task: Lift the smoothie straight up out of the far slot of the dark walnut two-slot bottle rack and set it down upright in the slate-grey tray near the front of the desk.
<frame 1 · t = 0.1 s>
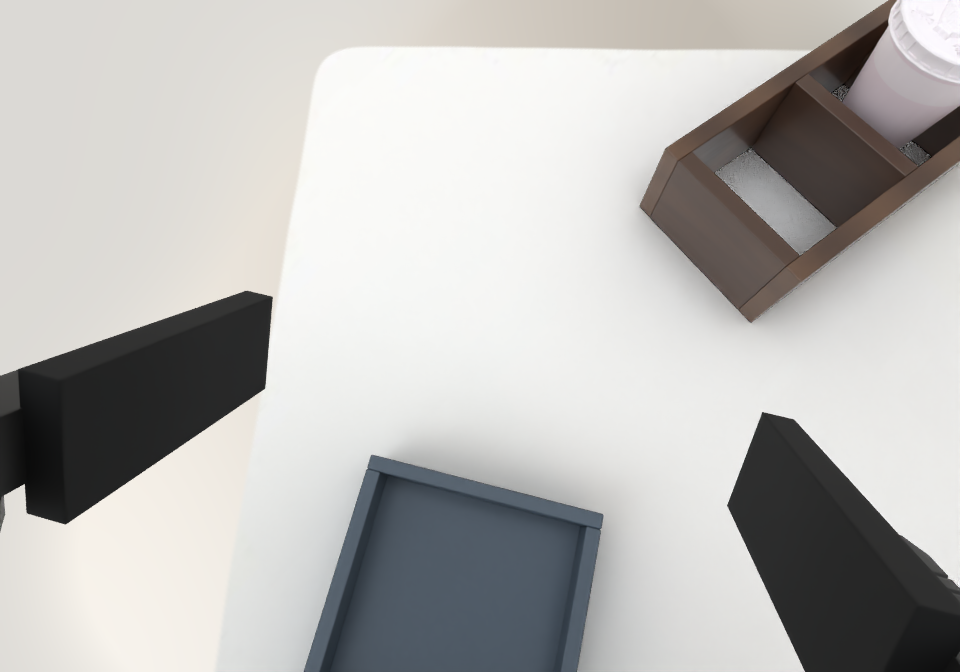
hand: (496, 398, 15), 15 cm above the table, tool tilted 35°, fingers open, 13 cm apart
smoothie: (846, 151, 35), resting in rack
tray: (457, 605, 27), on the table
rack: (800, 184, 34), on the table
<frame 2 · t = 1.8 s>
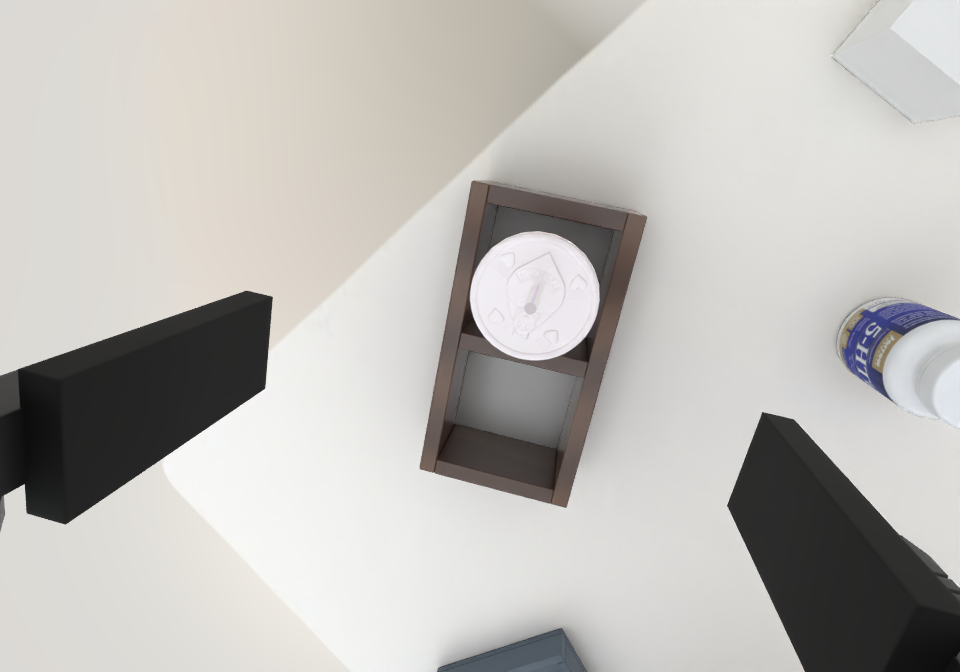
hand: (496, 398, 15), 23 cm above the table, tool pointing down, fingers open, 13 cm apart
pill bottle: (879, 338, 34), on the table
smoothie: (543, 269, 36), resting in rack
white cube: (915, 41, 30), on the table
rack: (529, 331, 38), on the table
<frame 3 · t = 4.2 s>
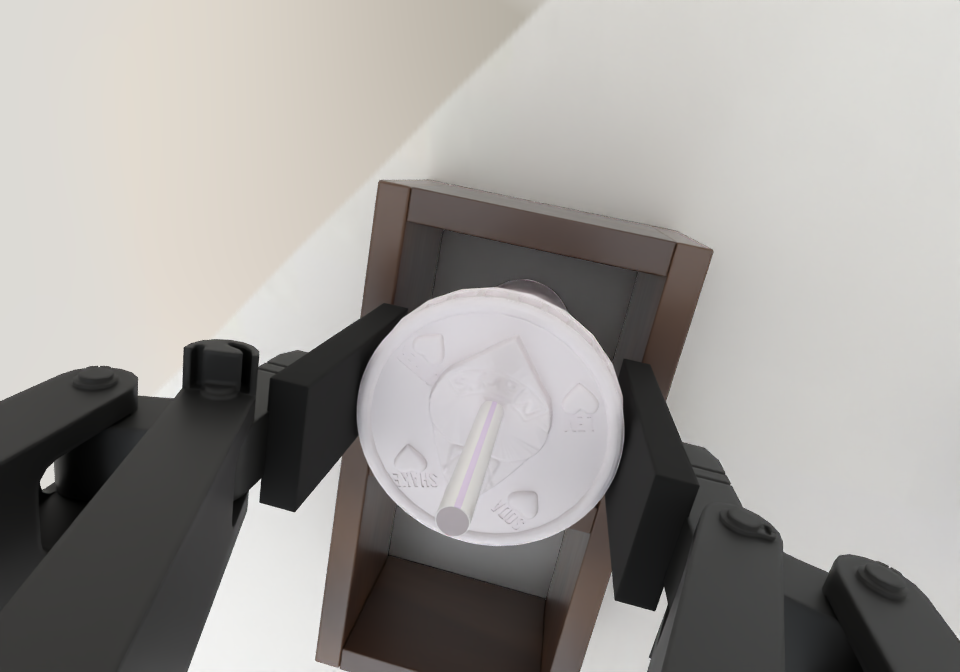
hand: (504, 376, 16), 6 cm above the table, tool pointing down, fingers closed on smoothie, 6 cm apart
smoothie: (522, 324, 22), resting in rack, touching gripper
rack: (500, 421, 23), on the table
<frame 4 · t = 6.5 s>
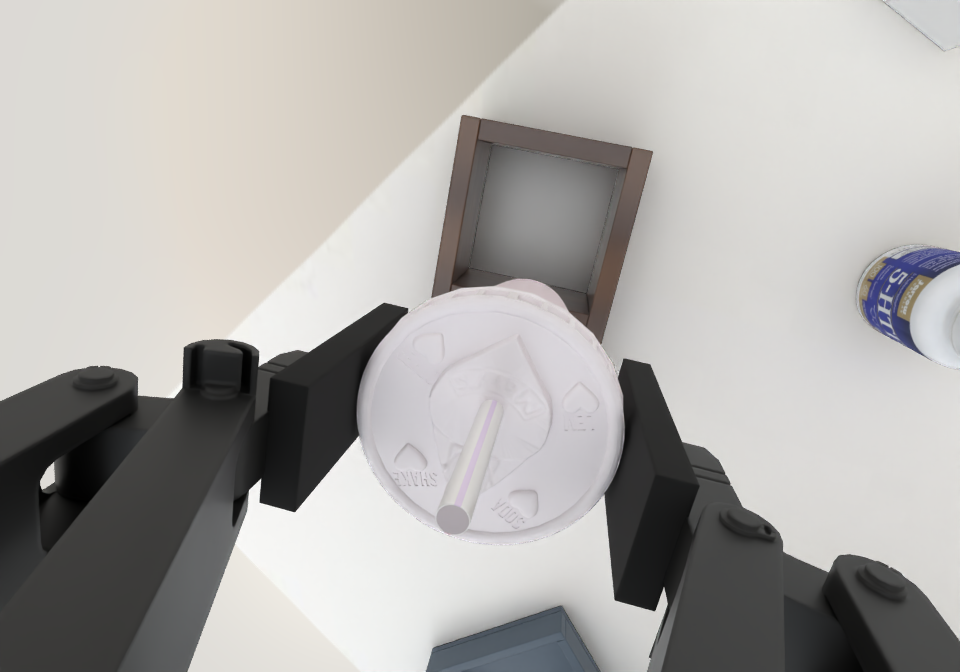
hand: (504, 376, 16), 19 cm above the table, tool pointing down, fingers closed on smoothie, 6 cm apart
pill bottle: (902, 289, 32), on the table
smoothie: (522, 323, 22), point 13 cm above the table, touching gripper
rack: (525, 288, 35), on the table
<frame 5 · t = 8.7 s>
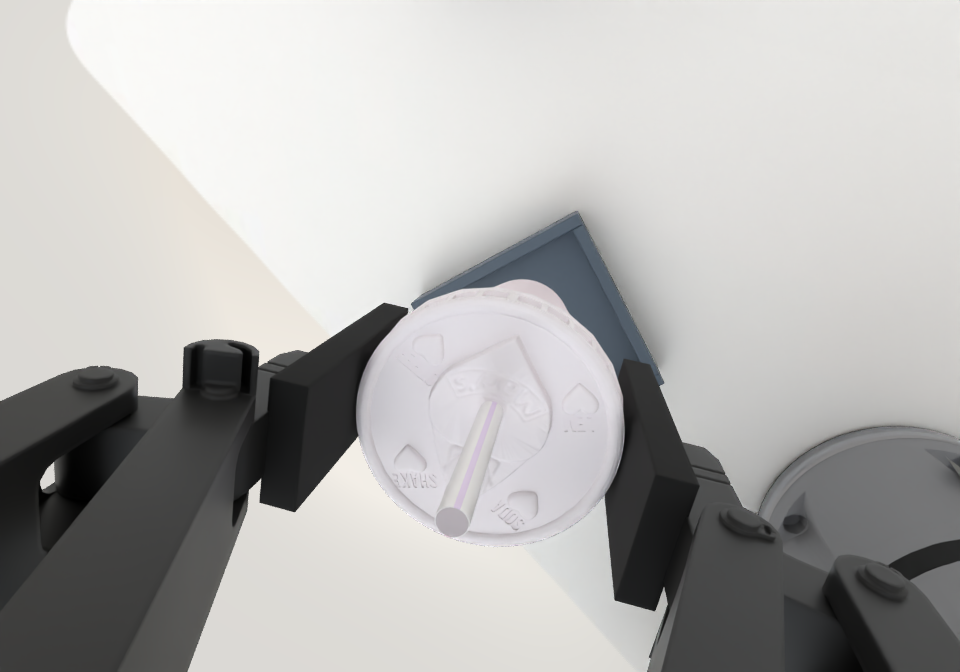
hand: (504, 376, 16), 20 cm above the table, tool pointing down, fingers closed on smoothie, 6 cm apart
smoothie: (522, 324, 22), point 14 cm above the table, touching gripper
tray: (537, 332, 36), on the table
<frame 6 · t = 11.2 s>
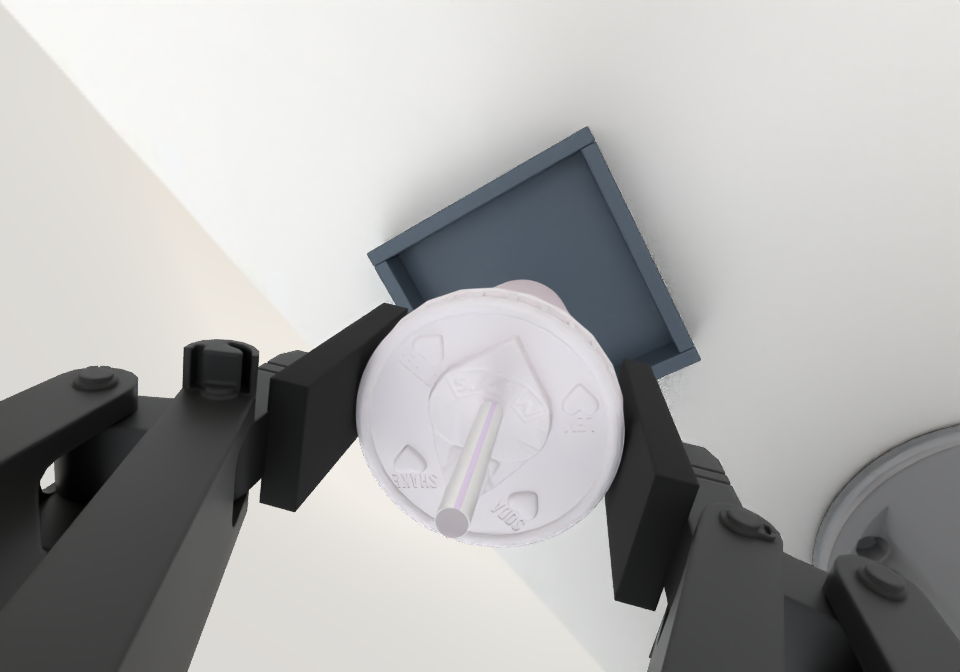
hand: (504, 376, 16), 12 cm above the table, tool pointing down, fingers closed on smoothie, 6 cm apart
smoothie: (522, 324, 22), point 6 cm above the table, touching gripper
tray: (533, 295, 28), on the table
when the fingers open (6 cm above the table, at t = 13.2 s): smoothie stays where it is, resting on tray.
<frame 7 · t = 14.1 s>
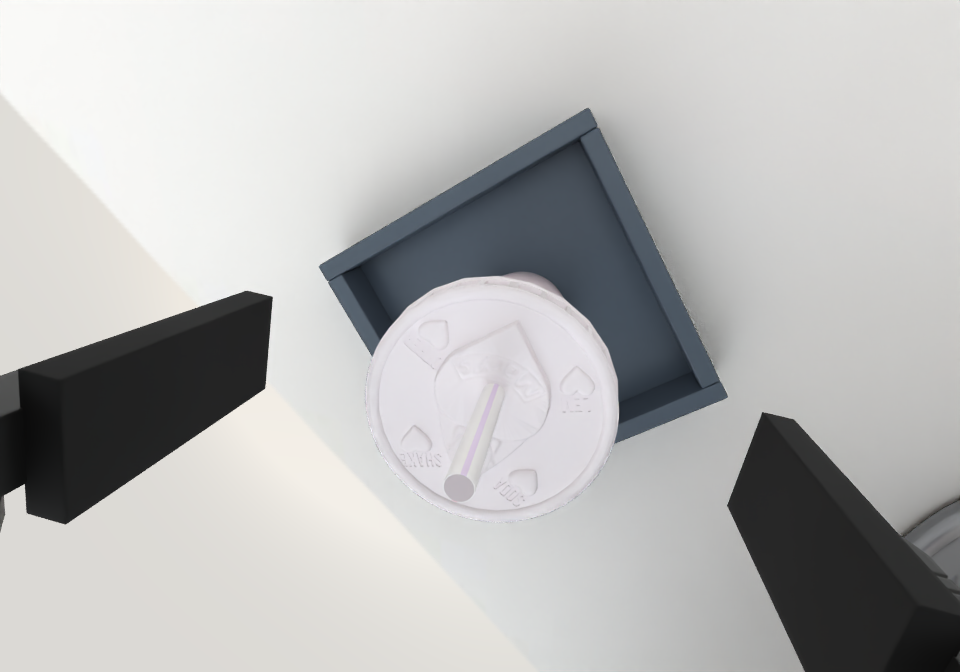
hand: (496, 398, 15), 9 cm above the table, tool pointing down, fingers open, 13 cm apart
smoothie: (522, 315, 23), resting on tray
tray: (523, 314, 23), on the table
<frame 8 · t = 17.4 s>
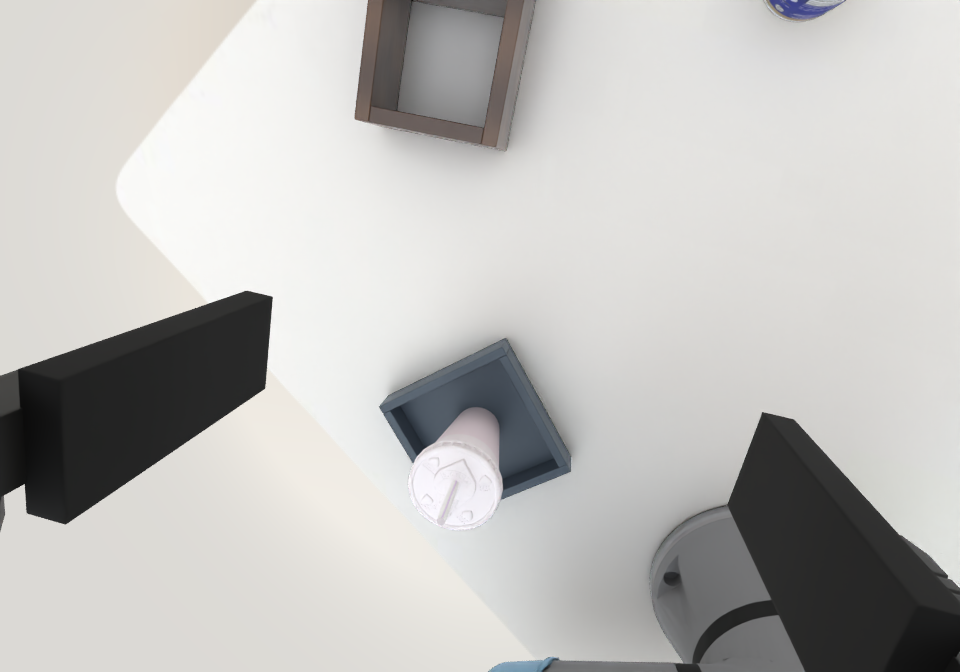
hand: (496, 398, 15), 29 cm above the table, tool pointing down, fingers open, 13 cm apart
smoothie: (477, 426, 46), resting on tray
tray: (478, 425, 47), on the table
rack: (465, 2, 38), on the table
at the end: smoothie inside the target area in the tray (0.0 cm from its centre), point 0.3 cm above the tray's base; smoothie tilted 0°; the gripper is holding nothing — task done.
